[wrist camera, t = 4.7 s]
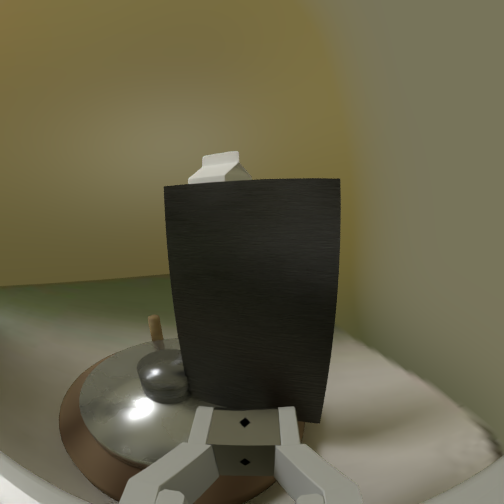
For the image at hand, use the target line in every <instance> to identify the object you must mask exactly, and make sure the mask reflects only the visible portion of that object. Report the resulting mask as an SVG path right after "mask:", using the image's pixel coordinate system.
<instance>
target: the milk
mask: <svg viewBox="0 0 504 504" xmlns="http://www.w3.org/2000/svg"><path fill="white" fill-rule="evenodd" d="M239 180H252V179H251V175H250V174H249V173H248V172H247V171H246V170H245V168H244V167H243V166H242V165H241V164H240V163H239V152H238V151H232V152H225V153H219V154H212V155H207V156H203V158H202V168H201V169H200V170H198V171H197V172H196V173H195V174H193V175H192V176H191V177H190V178H189V179H188V184H196V183H208V182H223V181H239Z"/></svg>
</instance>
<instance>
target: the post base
mask: <svg viewBox="0 0 504 504" xmlns="http://www.w3.org/2000/svg"><path fill="white" fill-rule="evenodd" d="M148 322H149V327H150V332H151V337H152V341H157V340H163V335H162V329H161V324H160V318H159V316H158V315H151V316H149V317H148ZM119 352H120V351H119ZM117 353H118V352H117ZM115 354H116V353H115ZM112 355H114V354H112ZM112 355H110V356H112ZM110 356H108V357H106V358H104V359H102V360H100V361H99V362H97V363H96V364H94V365H93V366H91V367H90V368H88V369H87V370H86V371H85V372H83V373H82V374H81V375H80V376H79V377H78V378H77V379H76V380H75V381H74V383H73V384H72V385H71V387H70V388H69V390H68V391H67V393H66V395H65V397H64V399H63V402H62V405H61V409H60V415H59V429H60V434H61V438H62V441H63V444H64V446H65V449H66V451H67V453H68V454H69V456H70V457H71V459H72V460H73V462H74V463H75V465H76V466H77V467H78V468H79V470H80V471H81V472H82V473H83V475H84V476H85V477H86V478H87V479H88V480H89V481H90V482H91V483H92V484H93V485H94V486H95V487H97V488H98V489H99V490H101V491H102V492H103V493H105V494H106V495H108V496H109V497H111V498H113V499H115V500H117V501H119V502H120V499H121V497H122V494H123V492H124V489H125V487H126V484H127V482H128V480H129V479H130V478H131V477H133V476H135V475H136V474H138V473H139V472H141V471H142V470H144V469H140V468H137V467H134V466H131V465H128V464H126V463H124V462H122V461H120V460H118V459H116V458H114V457H113V456H112V455H110V454H109V453H108V452H106V451H105V450H104V449H103V448H102V447H101V446H100V445H99V444H98V443H97V442H96V441H95V439H94V438H93V436H92V435H91V433H90V432H89V430H88V428H87V426H86V425H85V423H84V420H83V418H82V416H81V412H80V407H79V397H80V391H81V388H82V386H83V383H84V382H85V380H86V378H87V377H88V375H89V374H90V373H91V372H92V370H93V369H95V368H96V367H97V366H98V365H99V364H100V363H101V362H103V361H104V360H105V359H107V358H109V357H110ZM297 422H298V429H299V435H300V442H301V441H302V438H303V431H304V425H305V422H302V421H297ZM275 481H277V480H276V479H275V478H274V476H228V475H219V477H218V478H217V480H216V481H215V482H214V483H213V484H212V485H211V486H210V487H209V488H208V489H207V490H206V491H205V492H204V493H203V494H202V495H201V496H200V497H199V498H198V499H197V500H196V501H195V502H194V503H193V504H242V503H244V502H246V501H248V500H250V499H252V498H254V497H255V496H257V495H258V494H260V493H262V492H263V491H265V490H266V489H268V488H269V487H270V486H271V485H272V484H273V483H274V482H275Z"/></svg>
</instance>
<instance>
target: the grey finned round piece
mask: <svg viewBox="0 0 504 504" xmlns="http://www.w3.org/2000/svg"><path fill="white" fill-rule="evenodd" d="M340 198H341V197H340V179H321V178H320V179H319V178H317V179H316V178H315V179H314V178H312V179H311V178H310V179H309V178H308V179H261V180H239V181H223V182H208V183H196V184H185V185H175V186H165V187H164V202H165V221H166V235H167V249H168V260H169V270H170V279H171V288H172V297H173V304H174V312H175V319H176V326H177V332H178V338H175V339H164V340H157V341H152V342H147V343H143V344H139V345H136V346H133V347H130V348H127V349H125V350H122V351H120V352H118V353H116V354H114V355H112V356H110V357H109V358H107V359H105V360H104V361H103V362H101V363H100V364H99V365H98V366H97V367H96V368H95V369H93V370H92V372H91V373H90V374H89V375H88V377H87V378H86V380H85V382H84V383H83V386H82V388H81V391H80V397H79V407H80V412H81V416H82V418H83V420H84V423H85V425H86V426H87V428H88V430H89V432H90V433H91V435H92V436H93V438H94V439H95V441H96V442H97V443H98V444H99V445H100V446H101V447H102V448H103V449H104V450H105V451H106V452H108V453H109V454H110V455H112V456H113V457H114V458H116V459H118V460H120V461H122V462H124V463H126V464H128V465H131V466H134V467H137V468H140V469H145V468H147V467H148V466H150V465H151V464H153V463H154V462H156V461H157V460H159V459H160V458H162V457H163V456H164V455H166V454H167V453H169V452H170V451H171V450H173V449H174V448H176V447H177V446H178V445H180V444H181V443H182V442H187V443H188V439H189V436H190V432H191V428H192V424H193V421H194V417H195V413H196V410H197V408H198V407H199V406H205V407H222V408H245V409H246V408H275V407H277V408H278V407H291V406H294V407H295V410H296V416H297V421H302V422H310V423H320V419H321V413H322V408H323V403H324V397H325V391H326V385H327V379H328V372H329V365H330V358H331V350H332V342H333V333H334V324H335V314H336V303H337V289H338V274H339V255H340V254H339V253H340V212H341V211H340V210H341V208H340V205H341V203H340V202H341V199H340Z"/></svg>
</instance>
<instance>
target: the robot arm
mask: <svg viewBox="0 0 504 504" xmlns="http://www.w3.org/2000/svg"><path fill="white" fill-rule="evenodd" d="M219 475H228V476H274V478H275V479H276V480H277V481H278V483H279V484H280V485H281V486H282V487H283V489H284V490H285V491H286V492H287V493H288V494H289V495H290V497H291V498H292V499H293V500H294V501H295V502H296V503H295V504H364V503H363V500H362V496H361V493H360V489H359V486H358V485H357V484H356V483H355V482H353V481H352V480H350V479H349V478H348V477H346V476H345V475H344V474H343V473H341V472H340V471H339V470H337V469H336V468H335V467H333V466H332V465H331V464H330V463H328V462H327V461H326V460H325V459H323V458H322V457H321V456H320V455H319V454H317V453H316V452H315V451H314V450H313V449H311V448H310V447H309V446H308V445H307V444H301V442H300V435H299V429H298V422H297V416H296V410H295V407H294V406H291V407H278V408H277V407H275V408H246V409H245V408H222V407H205V406H199V407H198V408H197V410H196V413H195V417H194V421H193V424H192V428H191V432H190V436H189V439H188V443H187V442H182V443H181V444H180V445H178V446H177V447H176V448H174V449H173V450H171V451H170V452H169V453H167V454H166V455H164V456H163V457H162V458H160V459H159V460H157V461H156V462H154V463H153V464H151V465H150V466H148V467H147V468H145V469H144V470H142V471H141V472H139V473H138V474H136V475H135V476H133V477H131V478H130V479H129V480H128V482H127V484H126V487H125V489H124V492H123V494H122V497H121V499H120V502H119V504H193V503H194V502H195V501H196V500H197V499H198V498H199V497H200V496H201V495H202V494H203V493H204V492H205V491H206V490H207V489H208V488H209V487H210V486H211V485H212V484H213V483H214V482H215V481H216V480H217V478H218V477H219ZM0 504H92V503H90V502H87V501H85V500H83V499H81V498H78V497H76V496H74V495H72V494H70V493H68V492H66V491H64V490H62V489H60V488H58V487H56V486H54V485H53V484H51V483H49V482H47V481H45V480H44V479H42V478H40V477H39V476H37V475H35V474H34V473H32V472H31V471H29V470H27V469H26V468H24V467H23V466H21V465H20V464H18V463H17V462H16V461H14V460H13V459H11V458H10V457H9V456H7V455H6V454H4V453H3V452H2V451H1V450H0ZM419 504H504V455H503V456H502V457H501V458H499V459H498V460H496V461H495V462H494V463H492V464H491V465H489V466H488V467H486V468H485V469H483V470H482V471H480V472H479V473H477V474H475V475H474V476H472V477H470V478H469V479H467V480H465V481H463V482H462V483H460V484H458V485H456V486H454V487H453V488H451V489H449V490H447V491H445V492H443V493H441V494H439V495H437V496H435V497H432V498H430V499H428V500H426V501H423V502H421V503H419Z"/></svg>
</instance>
